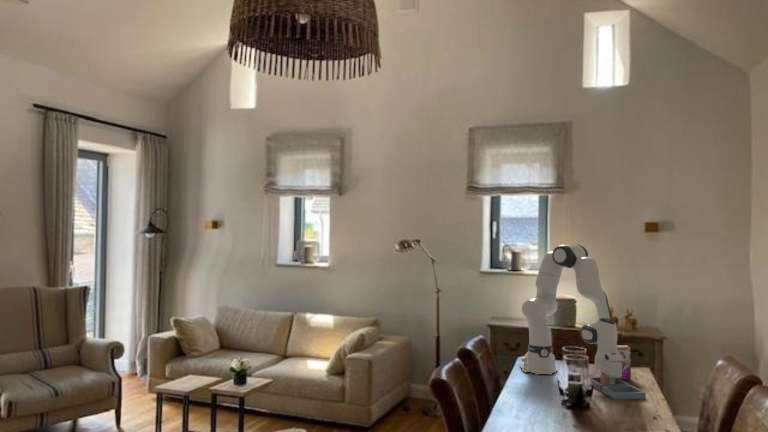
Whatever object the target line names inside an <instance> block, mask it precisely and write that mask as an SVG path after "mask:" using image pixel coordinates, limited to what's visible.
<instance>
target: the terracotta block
mask: <svg viewBox="0 0 768 432" xmlns="http://www.w3.org/2000/svg"><path fill="white" fill-rule="evenodd" d="M599 377H600V384H601V385H602V384H609V380H610V378H609V375H601V374H600V376H599ZM614 384H616V383H615V380H614Z"/></svg>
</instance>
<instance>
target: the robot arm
mask: <svg viewBox="0 0 768 432" xmlns="http://www.w3.org/2000/svg"><path fill="white" fill-rule="evenodd" d="M564 268H567V269H573V270H574V274H575V282H576V283H575V284H576V290H577V292H578V294H580V295H581V296H582V297H583V298H585V299H588V300H590V301H592V303H594V305H595V307H596V312H597V316H598V319H597V320H596V321H593V322H590V323H585V324H584V325H582V326H581V329H580V332H579V333H580V337H581V340H582V341H583V342H585V343H586V344H591V345H592V344H596V345H597V351H596V354H595V356H594V368H595V370H598V371H599V372H600V375H606V374H607V375H609V378H610V380H609V384H614V380H615V378H621V376H622V362H621V361H623V357H622V356H621V355H620V353H619V352H618V347H617V345H618V327H617V324H616V321H615V320H613V318H612V313H611V310H610V305H609V301H608V296H607V294H606V292H605V290H604V289H603V287H602V284H601V277H600V272H599V267H598V263H597V261H596V259H595V258H592V257H590V256H589V252H588V250H587V249H586V248H585V247H584V246H583V245H581V244H573V243H569V244H568V243H567V244H560V245H558V246H556V247H555V248H554V249H553V251H549V252H548V251H547V252H546V253H545V254H544V256H543V258H542V261H541V263H540V266H539V268H538V273H537V275H536V280H535V286H536V295H535V297H531V298H529V299H527V300H526V301H524V302H523V304H522V306H521V312H522V314H523V316H524V317H525V319H526V323H527V325H528V337H529V338H528V339H529V340H528V341H529V343H528V347H527V351H526V353H525V354H524V355H523V357H521V362H522V363H519V367H521V368H522V370H523V371H526V372H532V373H535V374H534V375H539V374H549V375H553V374H552V373H554V372H555V371H557V370H558V371H559V369H558V368H557V367H556V357H555V355H554V353H553V345H552V330H551V328H550V327H549V324H548V320H547V317H550V316H552V315H554V314H555V313H556V311H557V310H558V302H557V291H558V286H559V282H560V279H561V276H562V273H563V272H562V271H563V269H564ZM521 368H520V369H521ZM522 370H521V371H522ZM523 371H522V372H523ZM532 373H531V374H532ZM555 373H556V372H555ZM555 373H554V374H555Z"/></svg>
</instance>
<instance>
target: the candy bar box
mask: <svg viewBox="0 0 768 432" xmlns="http://www.w3.org/2000/svg"><path fill="white" fill-rule="evenodd" d="M617 347H618V352H619V353H620V355H621V356H622V357H623V361H621V362H622V376H621V378H618V379H620V380H622V381H631V377H632V376H631V368H632V367H631V364H632V363H631V358H632V356H631V355H632V353H631V351H632V350H631V349H632V348H631V347H630V346H629V345H618V344H617ZM606 375H607V374H606Z"/></svg>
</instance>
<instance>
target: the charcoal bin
mask: <svg viewBox="0 0 768 432" xmlns="http://www.w3.org/2000/svg"><path fill="white" fill-rule="evenodd" d="M590 380H591V382H592V384H593V387H594V388H593V387H592V388H593V389H595V390H596V391H598V392H601V393H602V386H621V385H631V384H630V383H628V382H626V381H625V380H620V379H618V378H615V383H616V384H602V385H601V384H600V376H591V377H590Z"/></svg>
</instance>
